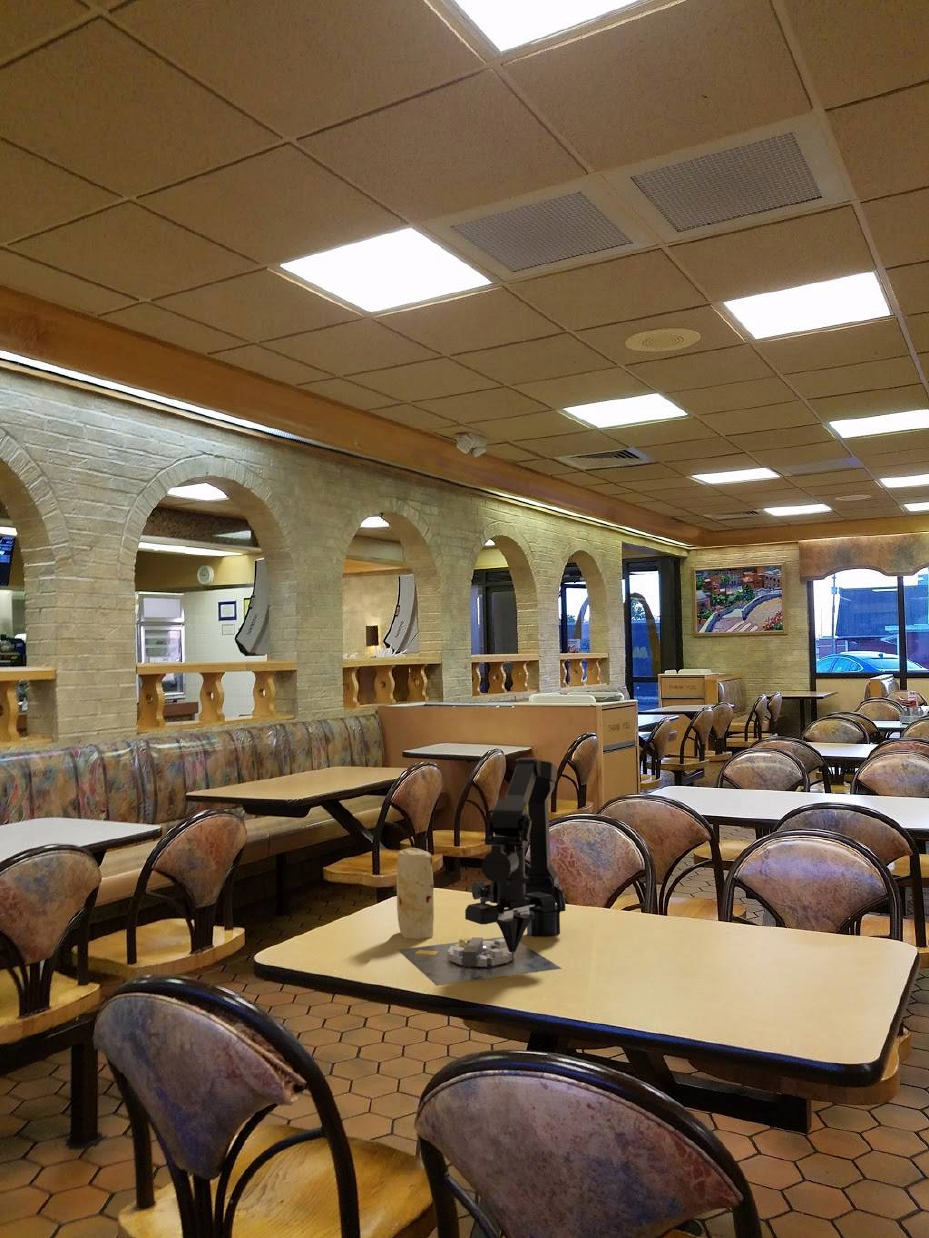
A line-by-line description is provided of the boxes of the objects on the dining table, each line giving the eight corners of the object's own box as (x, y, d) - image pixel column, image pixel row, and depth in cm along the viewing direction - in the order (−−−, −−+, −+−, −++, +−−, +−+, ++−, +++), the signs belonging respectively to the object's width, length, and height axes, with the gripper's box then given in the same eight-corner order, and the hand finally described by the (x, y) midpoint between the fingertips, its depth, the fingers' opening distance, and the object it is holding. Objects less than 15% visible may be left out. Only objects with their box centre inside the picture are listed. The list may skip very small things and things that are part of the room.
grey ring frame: (455, 946, 208) (454, 923, 208) (516, 948, 206) (516, 924, 206) (435, 977, 187) (435, 950, 187) (503, 979, 185) (503, 952, 185)
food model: (441, 938, 219) (439, 848, 220) (422, 945, 214) (421, 853, 215) (407, 932, 225) (406, 844, 226) (388, 939, 219) (387, 849, 220)
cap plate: (510, 940, 216) (509, 924, 217) (561, 973, 192) (561, 955, 192) (397, 954, 207) (397, 938, 208) (436, 990, 183) (436, 972, 183)
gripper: (521, 859, 205) (523, 935, 204) (448, 871, 194) (449, 951, 193) (556, 867, 196) (558, 946, 195) (481, 880, 185) (483, 964, 184)
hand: (512, 951), depth 192 cm, fingers closed
